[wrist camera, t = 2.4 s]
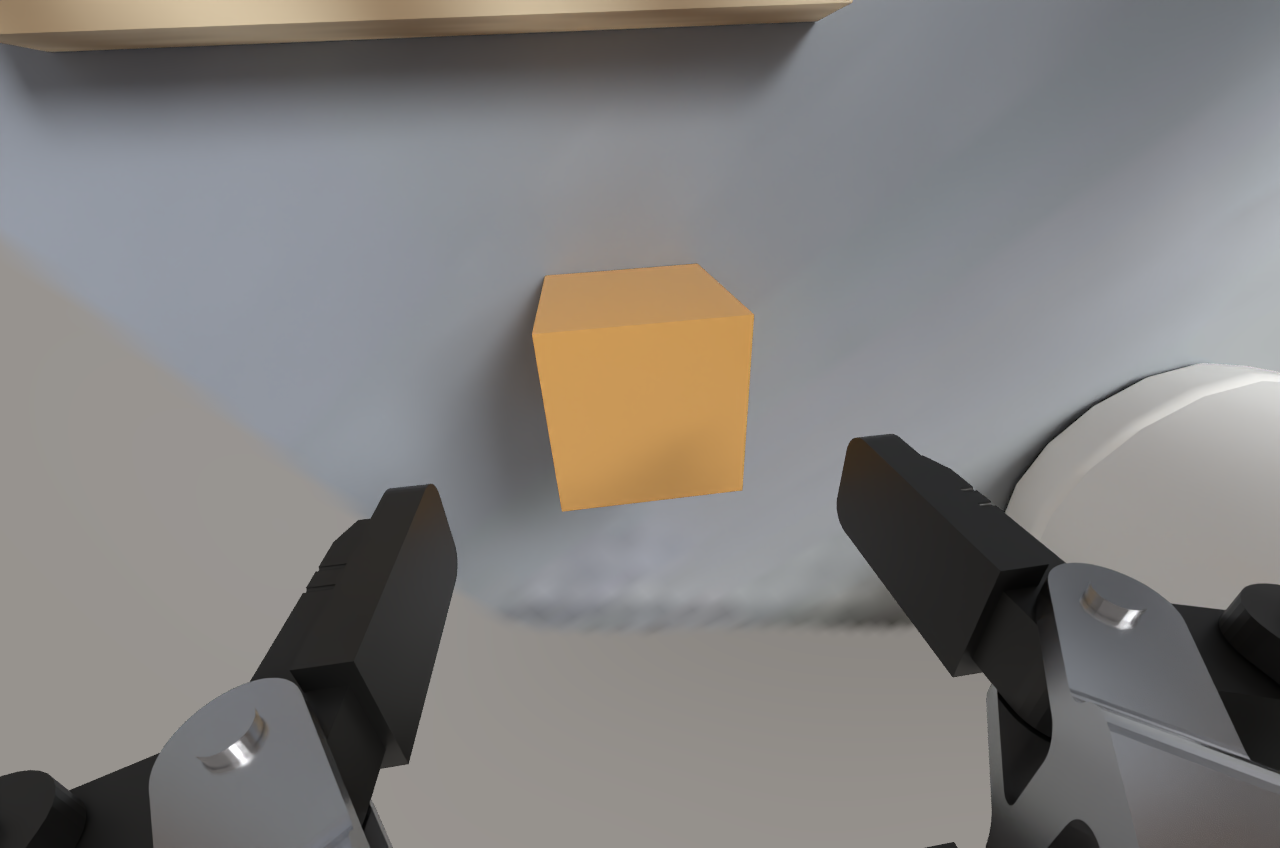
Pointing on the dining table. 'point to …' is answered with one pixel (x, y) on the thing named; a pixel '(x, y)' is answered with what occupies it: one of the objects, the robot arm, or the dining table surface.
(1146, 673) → the robot arm
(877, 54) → the dining table surface
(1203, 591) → the bottle
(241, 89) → the dining table surface
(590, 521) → the dining table surface
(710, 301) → the wooden toy cube
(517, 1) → the wooden peg rack
